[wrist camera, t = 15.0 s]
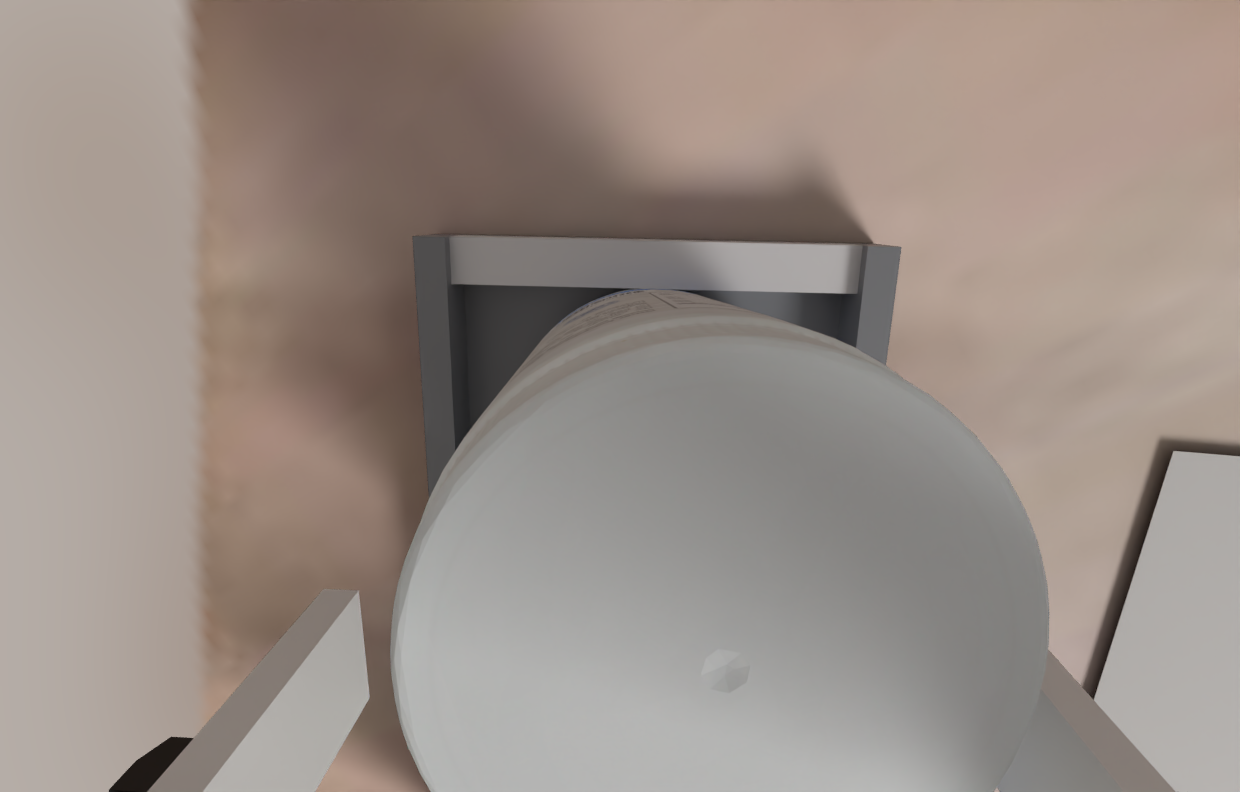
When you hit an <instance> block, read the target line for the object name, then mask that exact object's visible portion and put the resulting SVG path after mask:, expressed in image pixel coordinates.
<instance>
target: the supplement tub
mask: <svg viewBox="0 0 1240 792" xmlns="http://www.w3.org/2000/svg"><path fill="white" fill-rule="evenodd" d="M1048 639H1049V603H1048V589H1047V581H1046V576H1045V571H1044V566H1043V561H1042V557H1041V553H1040V549H1039V546H1038V542H1037V539H1036V536H1035V533H1034V531H1033V528H1032V525H1031V523H1030V520H1029V518H1028V516H1027V513H1026V511H1025V509H1024V507H1023V505H1022V503H1021V501H1020V499H1019V497H1018V495H1017V493H1016V492H1015V490H1014V488H1013V486H1012V484H1011V482H1010V481H1009V479H1008V477H1007V476H1006V474H1005V473H1004V471H1003V470H1002V468H1001V467H1000V465H999V464H998V463H997V462H996V460H995V459H994V458H993V456H992V455H991V454H990V453H989V451H988V450H987V449H986V448H985V446H984V445H983V444H982V443H981V441H980V440H979V439H978V438H977V436H976V435H975V434H974V433H973V432H972V431H970V430H969V429H968V428H967V427H966V426H965V425H964V424H963V423H962V422H961V421H960V420H959V419H958V418H957V417H956V416H955V415H954V414H953V413H952V412H950V411H949V410H948V409H947V408H945V407H944V406H943V405H942V404H940V403H939V402H938V401H937V400H935V399H934V398H933V397H932V396H930V395H929V394H927V393H926V392H924V391H922V390H921V389H919V388H917V387H916V386H914V385H913V384H911V383H909V382H908V381H906V380H904V379H903V378H902V377H901V376H899V375H898V374H897V373H895V372H894V371H893V370H891V369H890V368H888V367H887V366H886V365H884V364H883V363H881V362H879V361H877V360H876V359H874V358H872V357H870V356H868V355H867V354H865V353H863V352H861V351H860V350H858V349H857V348H855V347H853V346H851V345H848V344H846V343H844V342H842V341H840V340H837V339H835V338H832V337H830V336H827V335H824V334H821V333H818V332H815V331H812V330H810V329H807V328H804V327H801V326H798V325H795V324H792V323H789V322H786V321H783V320H780V319H777V318H774V317H771V316H767V315H764V314H760V313H757V312H753V311H750V310H746V309H743V308H740V307H737V306H733V305H730V304H727V303H723V302H720V301H716V300H713V299H710V298H706V297H703V296H700V295H697V294H693V293H689V292H685V291H679V290H673V289H628V290H623V291H619V292H615V293H612V294H609V295H606V296H604V297H601V298H598V299H596V300H593V301H591V302H589V303H587V304H585V305H583V306H581V307H580V308H578V309H576V310H575V311H573V312H572V313H570V314H569V315H568V316H566V317H565V318H564V319H562V320H561V321H560V322H559V323H558V324H557V325H556V326H555V327H553V328H552V329H551V330H550V332H549V333H548V334H547V335H546V336H545V337H544V338H543V339H542V340H541V342H540V343H539V344H538V345H537V346H536V348H535V349H534V350H533V351H532V353H531V354H530V355H529V356H528V358H527V359H526V360H525V361H524V363H523V364H522V365H521V366H520V368H519V369H518V370H517V371H516V373H515V374H514V375H513V376H512V377H511V379H510V380H509V381H508V382H507V384H506V385H505V386H504V387H503V389H502V390H501V391H500V392H499V394H498V395H497V396H496V397H495V399H494V400H493V401H492V402H491V404H490V405H489V406H488V407H487V409H486V410H485V411H484V412H483V414H482V415H481V416H480V417H479V419H478V420H477V421H476V423H475V424H474V425H473V427H472V428H471V429H470V430H469V432H468V433H467V434H466V436H465V437H464V438H463V440H462V442H461V443H460V445H459V446H458V448H457V449H456V451H455V452H454V454H453V456H452V457H451V459H450V460H449V462H448V463H447V465H446V466H445V468H444V469H443V471H442V473H441V475H440V478H439V480H438V482H437V484H436V486H435V488H434V490H433V492H432V494H431V496H430V498H429V500H428V503H427V505H426V508H425V510H424V513H423V515H422V518H421V522H420V524H419V526H418V529H417V531H416V533H415V536H414V538H413V541H412V543H411V546H410V548H409V551H408V553H407V556H406V558H405V561H404V565H403V568H402V572H401V575H400V578H399V582H398V586H397V591H396V596H395V601H394V607H393V613H392V627H391V644H390V658H391V675H392V682H393V690H394V697H395V703H396V708H397V712H398V716H399V721H400V724H401V728H402V731H403V734H404V737H405V740H406V742H407V745H408V747H409V750H410V752H411V755H412V757H413V759H414V761H415V764H416V766H417V768H418V770H419V772H420V774H421V776H422V778H423V779H424V781H425V783H426V784H427V786H428V788H429V790H430V791H431V792H994V790H995V789H996V788H997V786H998V785H999V783H1000V782H1001V780H1002V778H1003V777H1004V775H1005V773H1006V772H1007V770H1008V768H1009V767H1010V765H1011V764H1012V762H1013V760H1014V758H1015V756H1016V754H1017V752H1018V750H1019V747H1020V745H1021V743H1022V741H1023V739H1024V737H1025V735H1026V732H1027V730H1028V727H1029V725H1030V722H1031V720H1032V717H1033V715H1034V712H1035V710H1036V707H1037V702H1038V698H1039V694H1040V690H1041V686H1042V682H1043V678H1044V674H1045V669H1046V661H1047V653H1048Z"/></svg>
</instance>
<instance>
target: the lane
mask: <svg viewBox="0 0 1240 792" xmlns="http://www.w3.org/2000/svg"><path fill="white" fill-rule="evenodd" d="M413 251H414V267H415V283H416V299H417V315H418V331H419V347H420V363H421V378H422V394H423V410H424V426H425V442H426V458H427V474H428V490H429V498H430V496H431V494H432V492H433V490H434V488H435V486H436V484H437V482H438V480H439V478H440V475H441V473H442V471H443V469H444V468H445V466H446V465H447V463H448V462H449V460H450V459H451V457H452V456H453V454H454V452H455V451H456V449H457V448H458V446H459V445H460V443H461V442H462V440H463V438H464V437H465V436H466V434H467V433H468V432H469V430H470V429H471V428H472V427H473V425H474V424H475V423H476V421H477V420H478V419H479V417H480V416H481V415H482V414H483V412H484V411H485V410H486V409H487V407H488V406H489V405H490V404H491V402H492V401H493V400H494V399H495V397H496V396H497V395H498V394H499V392H500V391H501V390H502V389H503V387H504V386H505V385H506V384H507V382H508V381H509V380H510V379H511V377H512V376H513V375H514V374H515V373H516V371H517V370H518V369H519V368H520V366H521V365H522V364H523V363H524V361H525V360H526V359H527V358H528V356H529V355H530V354H531V353H532V351H533V350H534V349H535V348H536V346H537V345H538V344H539V343H540V342H541V340H542V339H543V338H544V337H545V336H546V335H547V334H548V333H549V332H550V330H551V329H552V328H553V327H555V326H556V325H557V324H558V323H559V322H560V321H561V320H562V319H564V318H565V317H566V316H568V315H569V314H570V313H572V312H573V311H575V310H576V309H578V308H580V307H581V306H583V305H585V304H587V303H589V302H591V301H593V300H596V299H598V298H601V297H604V296H606V295H609V294H612V293H615V292H619V291H623V290H628V289H673V290H679V291H685V292H689V293H693V294H697V295H700V296H703V297H706V298H710V299H713V300H716V301H720V302H723V303H727V304H730V305H733V306H737V307H740V308H743V309H746V310H750V311H753V312H757V313H760V314H764V315H767V316H771V317H774V318H777V319H780V320H783V321H786V322H789V323H792V324H795V325H798V326H801V327H804V328H807V329H810V330H812V331H815V332H818V333H821V334H824V335H827V336H830V337H832V338H835V339H837V340H840V341H842V342H844V343H846V344H848V345H851V346H853V347H855V348H857V349H858V350H860V351H861V352H863V353H865V354H867V355H868V356H870V357H872V358H874V359H876V360H877V361H879V362H881V363H883V364H884V365H886V360H887V352H888V345H889V337H890V330H891V322H892V314H893V307H894V299H895V292H896V284H897V277H898V269H899V261H900V254H901V247H898V246H889V245H881V244H865V243H819V242H773V241H728V240H682V239H637V238H591V237H545V236H500V235H454V234H432V235H420V236H413Z"/></svg>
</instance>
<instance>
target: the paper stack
mask: <svg viewBox="0 0 1240 792" xmlns="http://www.w3.org/2000/svg"><path fill="white" fill-rule="evenodd" d="M1094 701H1095V702H1096V703H1097V704H1098V706H1099V707H1100V708H1101V709H1102V710H1103V711H1104V712H1105V713H1106V714H1107V716H1108V717H1109V718H1110V719H1111V720H1112V721H1113V722H1114V723H1115V725H1116V726H1117V727H1118V728H1119V729H1120V730H1121V731H1122V732H1123V733H1124V735H1125V736H1126V737H1127V738H1128V739H1129V740H1130V741H1131V742H1132V744H1133V745H1134V746H1135V747H1136V748H1137V749H1138V750H1139V751H1140V752H1141V754H1142V755H1143V756H1144V757H1145V758H1146V759H1147V760H1148V761H1149V762H1150V764H1151V765H1152V766H1153V767H1154V768H1155V769H1156V770H1157V771H1158V773H1159V774H1160V775H1161V776H1162V777H1163V778H1164V779H1165V780H1166V781H1167V783H1168V784H1169V785H1170V786H1171V787H1172V788H1173V789H1174V790H1175V792H1240V456H1231V455H1219V454H1207V453H1195V452H1182V451H1173V453H1172V456H1171V459H1170V462H1169V465H1168V468H1167V471H1166V475H1165V478H1164V481H1163V484H1162V487H1161V490H1160V493H1159V496H1158V500H1157V503H1156V506H1155V509H1154V512H1153V515H1152V518H1151V521H1150V525H1149V528H1148V531H1147V534H1146V537H1145V540H1144V543H1143V546H1142V550H1141V553H1140V556H1139V559H1138V562H1137V565H1136V568H1135V571H1134V575H1133V578H1132V581H1131V584H1130V587H1129V590H1128V593H1127V596H1126V600H1125V603H1124V606H1123V609H1122V612H1121V615H1120V618H1119V621H1118V625H1117V628H1116V631H1115V634H1114V637H1113V640H1112V643H1111V646H1110V650H1109V653H1108V656H1107V659H1106V662H1105V665H1104V668H1103V671H1102V675H1101V678H1100V681H1099V684H1098V687H1097V690H1096V693H1095V696H1094Z"/></svg>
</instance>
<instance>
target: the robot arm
mask: <svg viewBox="0 0 1240 792" xmlns="http://www.w3.org/2000/svg"><path fill="white" fill-rule="evenodd" d="M369 698H370V695H369V685H368V675H367V666H366V656H365V646H364V636H363V627H362V617H361V607H360V598H359V590H338V589H323V590H322V591H321V593H320V594H319V595H318V596H317V597H316V598H315V600H314V601H313V602H312V603H311V604H310V605H309V606H308V608H307V609H306V610H305V611H304V612H303V613H302V614H301V616H300V617H299V618H298V619H297V620H296V621H295V622H294V624H293V625H292V626H291V627H290V628H289V629H288V631H287V632H286V633H285V634H284V635H283V636H282V637H281V639H280V640H279V641H278V642H277V643H276V644H275V645H274V647H273V648H272V649H271V650H270V651H269V652H268V654H267V655H266V656H265V657H264V658H263V659H262V660H261V662H260V663H259V664H258V665H257V666H256V667H255V668H254V670H253V671H252V672H251V673H250V674H249V675H248V676H247V678H246V679H245V680H244V681H243V682H242V683H241V685H240V686H239V687H238V688H237V689H236V690H235V691H234V693H233V694H232V695H231V696H230V697H229V698H228V699H227V701H226V702H225V703H224V704H223V705H222V706H221V708H220V709H219V710H218V711H217V712H216V713H215V714H214V716H213V717H212V718H211V719H210V720H209V721H208V722H207V724H206V725H205V726H204V727H203V728H202V729H201V730H200V732H199V733H198V734H197V735H196V736H195V737H194V738H181V737H170V738H169V739H167V740H166V741H164V742H163V743H161V744H160V745H159V746H157V747H156V748H154V749H153V750H151V751H150V752H148V753H147V754H145V755H144V756H143V757H141V758H140V759H138V760H137V761H136V762H135V763H134V764H133V765H132V766H131V767H130V768H129V769H128V770H127V771H126V772H125V773H124V774H123V775H122V776H121V778H120V779H119V780H118V781H117V782H116V783H115V784H114V785H113V786H112V787H111V788H110V790H109V792H315V791H316V789H317V788H318V786H319V784H320V782H321V781H322V779H323V777H324V776H325V774H326V772H327V770H328V769H329V767H330V765H331V764H332V762H333V760H334V758H335V757H336V755H337V753H338V752H339V750H340V748H341V746H342V745H343V743H344V741H345V739H346V738H347V736H348V734H349V733H350V731H351V729H352V727H353V726H354V724H355V722H356V721H357V719H358V717H359V715H360V714H361V712H362V710H363V709H364V707H365V705H366V703H367V702H368V700H369ZM997 788H998V790H999V791H1000V792H1175V790H1174V789H1173V788H1172V787H1171V786H1170V785H1169V784H1168V783H1167V781H1166V780H1165V779H1164V778H1163V777H1162V776H1161V775H1160V774H1159V773H1158V771H1157V770H1156V769H1155V768H1154V767H1153V766H1152V765H1151V764H1150V762H1149V761H1148V760H1147V759H1146V758H1145V757H1144V756H1143V755H1142V754H1141V752H1140V751H1139V750H1138V749H1137V748H1136V747H1135V746H1134V745H1133V744H1132V742H1131V741H1130V740H1129V739H1128V738H1127V737H1126V736H1125V735H1124V733H1123V732H1122V731H1121V730H1120V729H1119V728H1118V727H1117V726H1116V725H1115V723H1114V722H1113V721H1112V720H1111V719H1110V718H1109V717H1108V716H1107V714H1106V713H1105V712H1104V711H1103V710H1102V709H1101V708H1100V707H1099V706H1098V704H1097V703H1096V702H1095V701H1094V700H1093V699H1092V698H1091V697H1090V695H1089V694H1088V693H1087V692H1086V691H1085V690H1084V689H1083V688H1082V687H1081V685H1080V684H1079V683H1078V682H1077V681H1076V680H1075V679H1074V678H1073V677H1072V675H1071V674H1070V673H1069V672H1068V671H1067V670H1066V669H1065V668H1064V666H1063V665H1062V664H1061V663H1060V662H1059V661H1058V660H1057V659H1056V658H1055V656H1054V655H1053V654H1052V653H1051V652H1050V651H1049V650H1048V653H1047V661H1046V669H1045V674H1044V678H1043V682H1042V686H1041V690H1040V694H1039V698H1038V702H1037V707H1036V710H1035V712H1034V715H1033V717H1032V720H1031V722H1030V725H1029V727H1028V730H1027V732H1026V735H1025V737H1024V739H1023V741H1022V743H1021V745H1020V747H1019V750H1018V752H1017V754H1016V756H1015V758H1014V760H1013V762H1012V764H1011V765H1010V767H1009V768H1008V770H1007V772H1006V773H1005V775H1004V777H1003V778H1002V780H1001V782H1000V783H999V785H998V786H997Z"/></svg>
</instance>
